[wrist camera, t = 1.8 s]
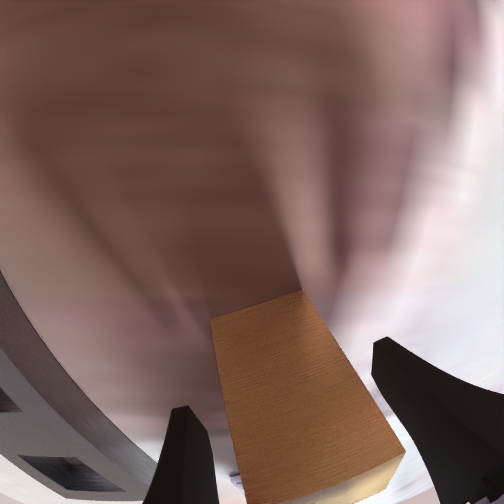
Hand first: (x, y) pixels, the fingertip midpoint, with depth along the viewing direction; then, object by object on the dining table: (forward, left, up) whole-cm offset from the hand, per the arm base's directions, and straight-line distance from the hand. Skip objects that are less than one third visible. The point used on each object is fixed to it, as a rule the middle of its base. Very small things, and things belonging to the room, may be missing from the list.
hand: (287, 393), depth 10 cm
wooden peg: (0, 0, -3) cm, 3 cm away
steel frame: (-1, +15, -3) cm, 15 cm away
